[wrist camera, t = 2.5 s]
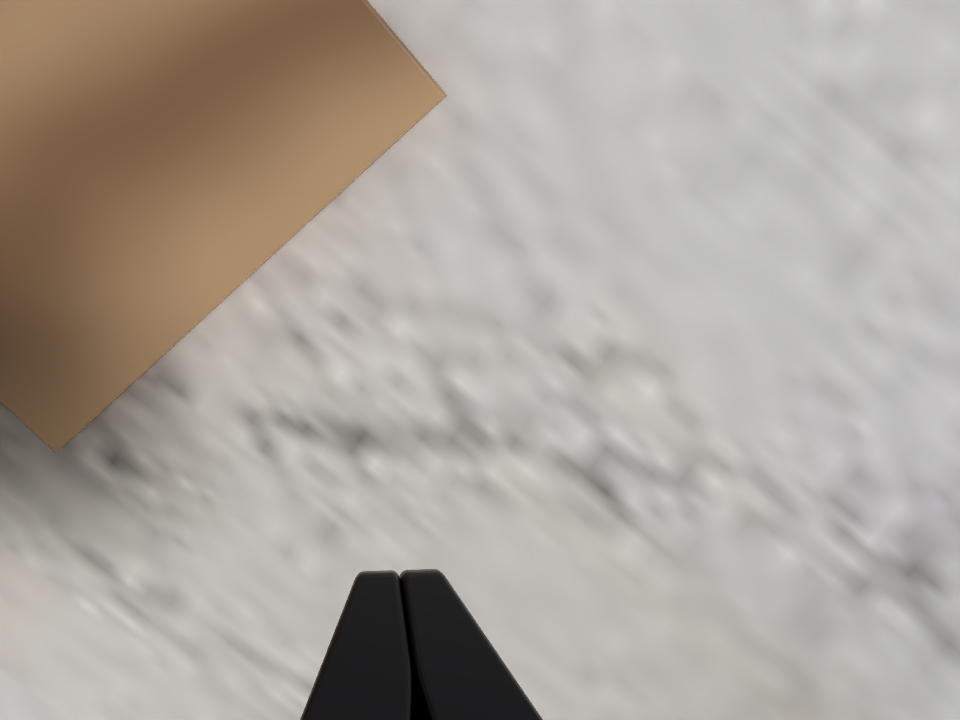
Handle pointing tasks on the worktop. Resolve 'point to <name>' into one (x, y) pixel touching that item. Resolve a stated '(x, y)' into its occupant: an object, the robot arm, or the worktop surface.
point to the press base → (168, 171)
